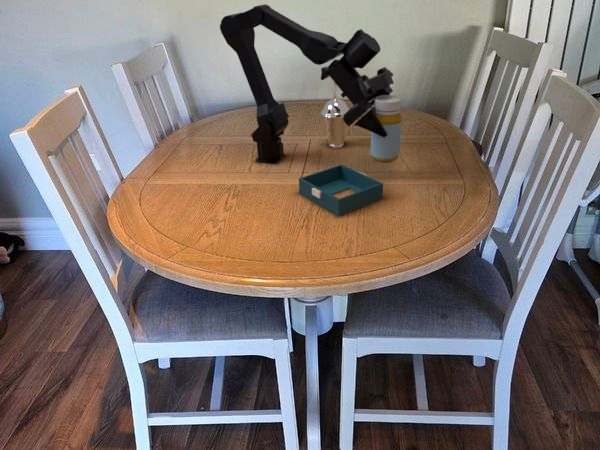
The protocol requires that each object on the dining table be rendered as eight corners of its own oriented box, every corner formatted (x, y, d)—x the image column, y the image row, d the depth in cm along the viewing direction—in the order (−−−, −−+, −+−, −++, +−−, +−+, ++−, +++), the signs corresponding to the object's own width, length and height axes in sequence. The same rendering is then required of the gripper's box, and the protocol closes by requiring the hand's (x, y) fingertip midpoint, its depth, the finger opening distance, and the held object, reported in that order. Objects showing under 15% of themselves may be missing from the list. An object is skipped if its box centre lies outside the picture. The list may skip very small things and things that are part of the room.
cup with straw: (342, 138, 150) (341, 72, 140) (356, 147, 143) (357, 78, 133) (317, 143, 147) (315, 76, 137) (330, 152, 140) (329, 82, 130)
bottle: (403, 161, 119) (408, 100, 111) (376, 165, 117) (379, 103, 110) (391, 151, 124) (395, 93, 117) (366, 154, 123) (368, 96, 115)
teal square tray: (297, 194, 118) (296, 179, 116) (343, 177, 124) (343, 163, 123) (336, 217, 107) (336, 201, 105) (384, 198, 113) (385, 182, 111)
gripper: (356, 66, 104) (403, 123, 104) (387, 50, 118) (427, 100, 118) (324, 99, 111) (367, 152, 112) (356, 80, 125) (394, 127, 126)
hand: (391, 131), depth 117 cm, fingers closed on bottle, 7 cm apart
